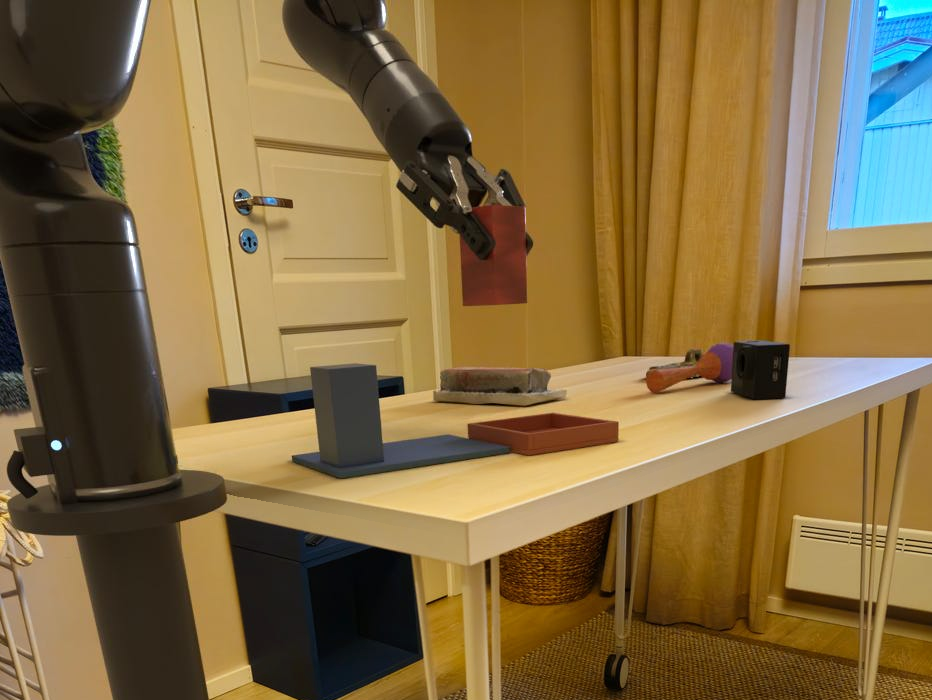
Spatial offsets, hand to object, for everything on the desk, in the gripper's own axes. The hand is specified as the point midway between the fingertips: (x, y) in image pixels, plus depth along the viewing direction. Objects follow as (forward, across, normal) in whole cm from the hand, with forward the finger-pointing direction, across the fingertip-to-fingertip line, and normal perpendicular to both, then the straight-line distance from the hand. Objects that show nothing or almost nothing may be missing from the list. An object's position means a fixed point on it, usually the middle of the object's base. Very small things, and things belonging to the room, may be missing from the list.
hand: (507, 251), depth 81 cm
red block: (+2, 0, +5) cm, 5 cm away
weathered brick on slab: (-8, +29, +34) cm, 46 cm away
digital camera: (+13, +49, +13) cm, 52 cm away
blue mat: (+9, -11, +16) cm, 22 cm away
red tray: (+14, +3, +12) cm, 18 cm away
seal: (-5, +68, +31) cm, 75 cm away
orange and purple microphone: (+3, +56, +23) cm, 60 cm away
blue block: (+9, -17, +16) cm, 25 cm away
